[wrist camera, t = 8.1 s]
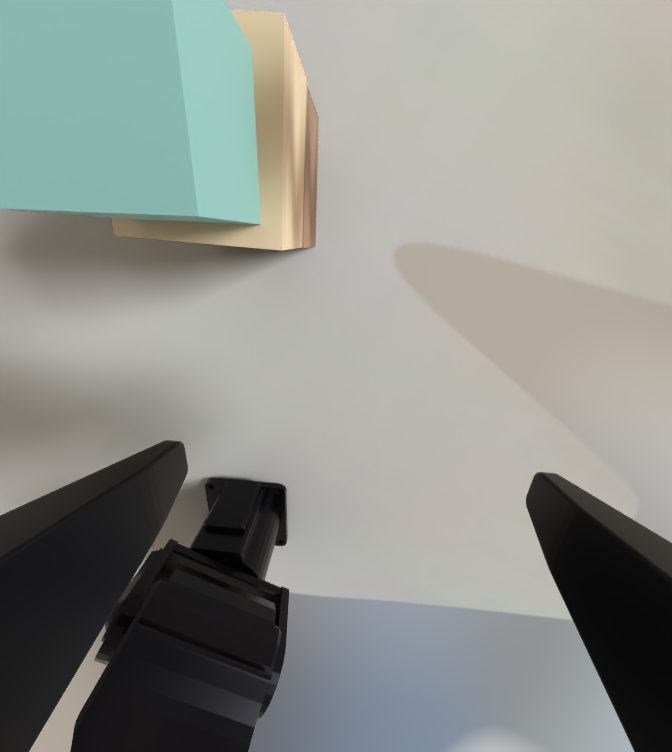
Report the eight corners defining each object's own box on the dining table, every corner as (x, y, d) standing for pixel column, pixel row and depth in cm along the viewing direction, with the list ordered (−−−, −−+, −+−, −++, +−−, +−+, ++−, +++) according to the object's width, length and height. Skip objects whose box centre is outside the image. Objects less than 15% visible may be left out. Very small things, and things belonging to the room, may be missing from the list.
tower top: (301, 247, 15) (282, 250, 11) (175, 236, 15) (114, 235, 11) (307, 80, 12) (284, 12, 9) (156, 70, 12) (70, -1, 9)
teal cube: (260, 224, 11) (198, 216, 7) (132, 219, 11) (-5, 208, 7) (251, 47, 9) (156, -119, 5) (98, 45, 9) (-118, -113, 5)
